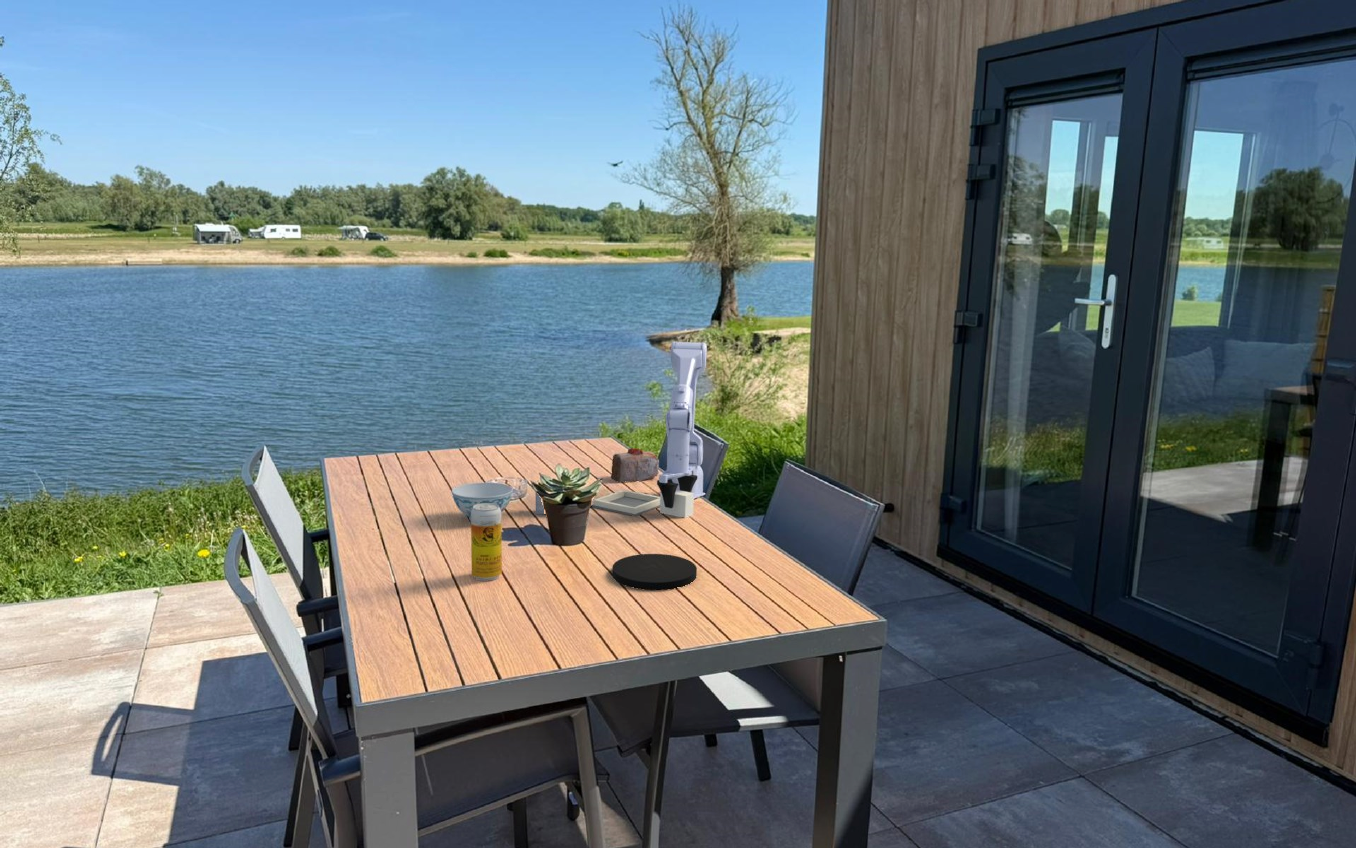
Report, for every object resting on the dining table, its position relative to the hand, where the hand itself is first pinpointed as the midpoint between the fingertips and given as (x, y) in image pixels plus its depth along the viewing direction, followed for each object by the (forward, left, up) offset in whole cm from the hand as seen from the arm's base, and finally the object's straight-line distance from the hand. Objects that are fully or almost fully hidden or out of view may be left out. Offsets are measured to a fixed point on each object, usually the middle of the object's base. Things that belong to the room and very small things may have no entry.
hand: (676, 504), depth 228 cm
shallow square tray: (+1, -15, -3) cm, 15 cm away
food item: (-24, -31, -3) cm, 40 cm away
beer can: (+64, -5, -3) cm, 64 cm away
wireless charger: (+42, +22, -3) cm, 47 cm away
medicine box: (+20, -26, -3) cm, 33 cm away
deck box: (0, 0, -3) cm, 3 cm away
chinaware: (+35, -36, -3) cm, 50 cm away
